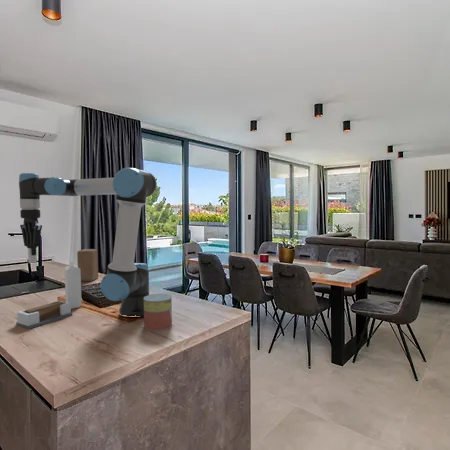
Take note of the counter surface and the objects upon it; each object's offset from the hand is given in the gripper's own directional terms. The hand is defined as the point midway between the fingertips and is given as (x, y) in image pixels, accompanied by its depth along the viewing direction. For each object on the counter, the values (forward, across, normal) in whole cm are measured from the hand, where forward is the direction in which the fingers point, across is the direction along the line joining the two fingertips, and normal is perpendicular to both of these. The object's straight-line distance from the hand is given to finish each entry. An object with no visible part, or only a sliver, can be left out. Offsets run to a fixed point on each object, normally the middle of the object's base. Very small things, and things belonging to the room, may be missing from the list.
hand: (32, 262), depth 147 cm
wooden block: (+25, +42, -60) cm, 77 cm away
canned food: (+25, -56, -18) cm, 64 cm away
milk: (+25, -2, -18) cm, 31 cm away
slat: (+23, -8, 0) cm, 25 cm away
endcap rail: (+24, -8, 0) cm, 26 cm away
